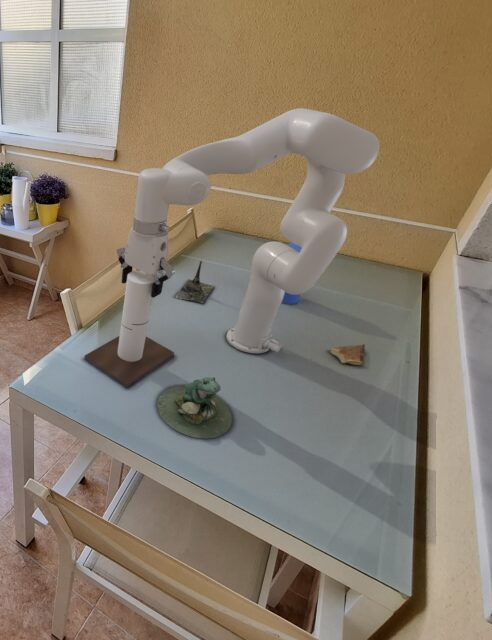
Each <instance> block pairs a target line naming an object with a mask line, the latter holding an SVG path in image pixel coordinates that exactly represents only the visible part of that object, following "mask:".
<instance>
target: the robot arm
mask: <svg viewBox="0 0 492 640" xmlns="http://www.w3.org/2000/svg"><path fill="white" fill-rule="evenodd" d="M379 152H380V141H379V139H378V137H377V136H376V135H375V134H374V133H373V132H371V131H368V130H366V129H365V128H362V127H360V126H358V125H356V124H354V123H352V122H349V121H348V120H345V118H344V119H343V118H342V117H339V116H337V115H336V114H332V113H330V112H324V111H320V110H316V109H310V108H305V107H299V108H293V109H291V110H288V111H286V112H283V113H282V114H280V115H278V116H276V117H274V118H272V119H270V120H268V121H266V122H264V123H262V124H260V125H258V126H256V127H254V128H253V129H250V130H248V131H246V132H244V133H242V134H240V135H237V136H234V137H229V138H225V139H222V140H218V141H213V142H210V143H206V144H202V145H199V146H197V147H194V148H192V149H190V150H187V151H186V152H184V153H181V154H180V155H177V156H176V157H174V158H172V159H170V160H169V161H168V162H167V163H165V165H164V166H163V167H162V168H160V167H150V168H145V169H142V171H141V172H140V173H139V174H138V177H137V187H136V196H135V205H134V213H133V222H132V226H131V227H130V230H129V232H128V235H127V240H126V245H125V246H121V247H119V248H117V249H116V252H117V253H116V254H117V257H118V258H117V259H118V261H119V264H120V268H121V270H122V273H121V284H123V285H124V284H126V283H127V275H128V274H129V273H130V272H133V268H134V269H136V270H137V271H143V272H145V273H148V274H151V275H152V276H153V279H154V281H155V283H153V286H152V292H151V297H152V299H155V298H156V297H158V296H159V295H161V293H162V292H163V286H164V282H166V281H168V280H169V279H171V277H172V276H173V275H174V274H175V273H176V269H175V268H174V267H173V266H172V265H171V264H170V263H169V262H168V256H169V234H168V232H169V231H170V226H169V225H167V222H168V220H167V219H168V214H169V206H170V205H174V206H175V205H177V206H187V207H188V206H196V205H198V204H200V203H202V202H203V201H205V200H206V199H207V198H208V197H209V196H210V193H211V189H212V183H211V180H210V178H209V176H212V175H218V174H219V175H220V174H225V175H244V174H245V175H246V174H252V173H254V172H256V171H258V170H260V169H262V168H264V167H267V166H269V165H270V164H272V163H274V162H276V161H278V160H280V159H282V158H284V157H286V156H289V155H291V154H296V155H300V156H303V157H304V158H305V159H304V160H305V163H306V177H305V179H304V182H303V185H302V186H301V188H300V190H299V192H298V193H297V195H296V197H295V198H294V200H293V201H292V203H291V205H290V206H289V208H288V210H287V211H286V213H285V215H284V216H283V218H282V220H281V222H280V224H279V232H280V234H281V236H282V237H284V238H285V239H286V240H287V241H289V242H290V243H294V244H296V245H298V246H299V247H301V248H302V249H301V251H300V253H299V252H298V251H296V250H294V249H293V248H291V247H289V246H288V244H286V243H284V242H281V241H268V242H265V243H264V244H262V245H260V246H259V247H258V248H257V250H255V252H254V255H253V257H252V260H251V261H252V262H251V270H250V278H249V282H248V286H247V288H246V291H245V294H244V298H243V301H242V304H241V308H240V310H239V313H238V316H237V319H236V323H235V326H234V327H232V328H230V329H229V330H228V331H227V333H226V340H227V342H228V343H229V345H231V346H232V347H234V348H235V349H237V350H239V351H241V352H245V353H248V354H263V353H266V352H268V351H269V350H271V351H273V352H275V353H279V352H280V350H281V345H280V344H281V341H278V340H276V339H274V338H273V332H271V331H272V328H273V326H274V323H275V320H276V318H277V315H278V312H279V310H280V307H281V304H283V303H282V300H283V297H284V293H285V292H286V293H289V294H292V295H299V294H301V295H302V294H304V293H306V292H308V291H309V290H310V289H311V288H313V287H314V285H315V284H316V283H317V282H318V280H319V279H320V278H321V276H322V275H323V274H324V272H325V271H326V270H327V268H328V267H329V265H330V264H331V262H333V260H334V258H335V257H336V256H337V255H338V253H339V251H340V250H341V249H342V247H343V246H344V243H345V241H346V239H347V236H348V226H347V224H346V222H345V221H344V220H343V219H341V218H340V217H338V216H336V215H335V214H332V213H331V211H332V210H333V208H334V206H335V204H336V203H337V201H338V200H339V198H340V196H341V195H342V192H343V190H344V187H345V183H346V175H356V174H359V173H362V172H364V171H365V170H367V169H368V168H370V167H371V166H372V165H373V164H374V162H375V161H376V159H377V158H378V156H379ZM164 271H165V273H164Z"/></svg>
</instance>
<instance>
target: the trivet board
mask: <svg viewBox="0 0 492 640" xmlns="http://www.w3.org/2000/svg"><path fill="white" fill-rule="evenodd" d="M119 337H120V335H118V336H116V337H115V338H113V339H111V340H109V341H107V342H106V343H104V344H102V345H100V346H99V347H96V348H95V349H94V350H91V351H90V352H88V353H86V354H85V355H84V361H86V362H87V363H89V364H90V365H91V366H93V367H95V368H97V370H99V371H101V372H102V373H103V374H104V375H106V376H108V377H109V378H111V379H112V380H114V381H115V382H117V383H118V384H120V385H121V386H122V387H124V388H125V389H127V388H129V387H130V386H132V385H133V384H134V383H136V382H137V381H139V380H140V379H142V378H143V377H145V376H147V375H148V374H149V373H151V372H152V371H154V370H155V369H157V368H158V367H160V366H161V365H163V364H164V363H166V362H167V361H168V360H171V358H173V357H174V356H175V352H174V351H173V350H171V349H169V348H168V347H166V346H164V345H162V344H160V343H159V342H157V341H155V340H153V339H151V338H150V337H147V336H146V338H145V343H144V349H143V355H142V358H141V359H140V360H138V361H134V362H130V361H125V360H123V359H121V358H120V357H119V356H118V345H119Z"/></svg>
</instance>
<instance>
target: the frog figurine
mask: <svg viewBox="0 0 492 640" xmlns="http://www.w3.org/2000/svg"><path fill="white" fill-rule="evenodd" d="M221 389H222V388H221V385H220V384H219V383H218V381H216V378H215V376H214V375H210V376H209V377H203V378H201V379H198V378H197V379H193V381H191V382H188V383H186V385H176V386H173V387H169V388H168V389H166V390H164V391H163V392H162V393H161V394H160V396H159V397H158V400H157V410H158V413H159V415H160V417H161V419H162V420H163V421H164V422H165V423H166V425H168V426H169V427H170V428H171V429H173V430H174V431H177V432H178V433H180V434H181V435H185V436H187V437H191V438H195V439H203V440H205V439H207V440H209V439H216V438H218V437H221V436H223V435H224V434H226V433H227V432H228V431H229V430H230V428H231V426H232V424H233V423H232V422H233V418H232V417H233V416H232V412H231V410H230V408H229V406H228V405H227V404H226V403H225V401H224V400H222V399H221V398H220V397H219V396H218V395H216V394H217V393H219V392H220V391H221Z"/></svg>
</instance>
